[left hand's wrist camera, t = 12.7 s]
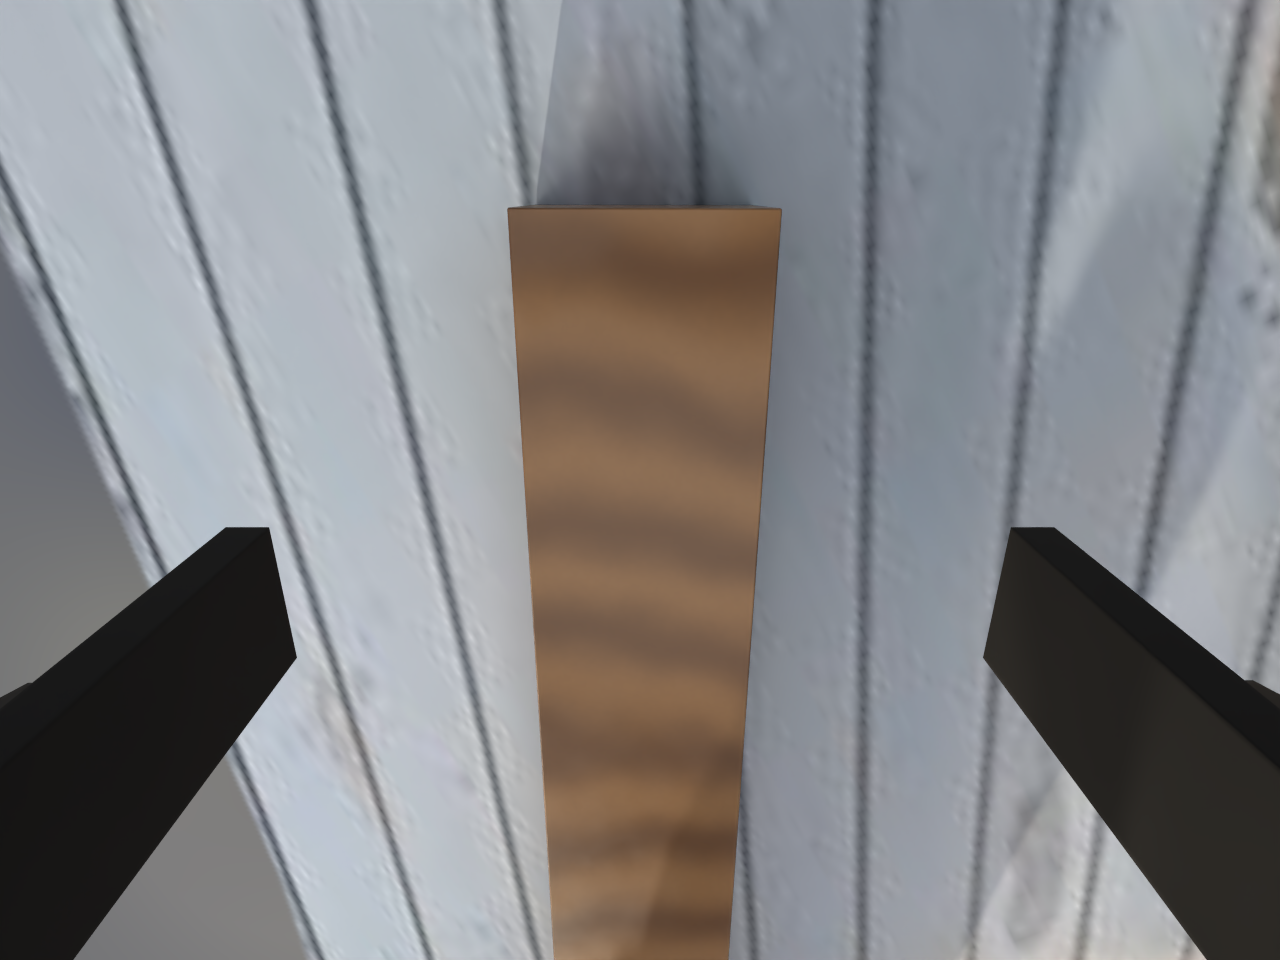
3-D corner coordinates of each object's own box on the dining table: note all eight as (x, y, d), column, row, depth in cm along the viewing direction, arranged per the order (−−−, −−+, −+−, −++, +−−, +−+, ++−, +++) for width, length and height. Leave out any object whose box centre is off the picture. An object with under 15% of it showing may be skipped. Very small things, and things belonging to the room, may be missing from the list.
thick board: (534, 204, 33) (506, 207, 26) (753, 205, 33) (782, 208, 26) (580, 1142, 61) (572, 1260, 54) (699, 1143, 61) (706, 1261, 54)
